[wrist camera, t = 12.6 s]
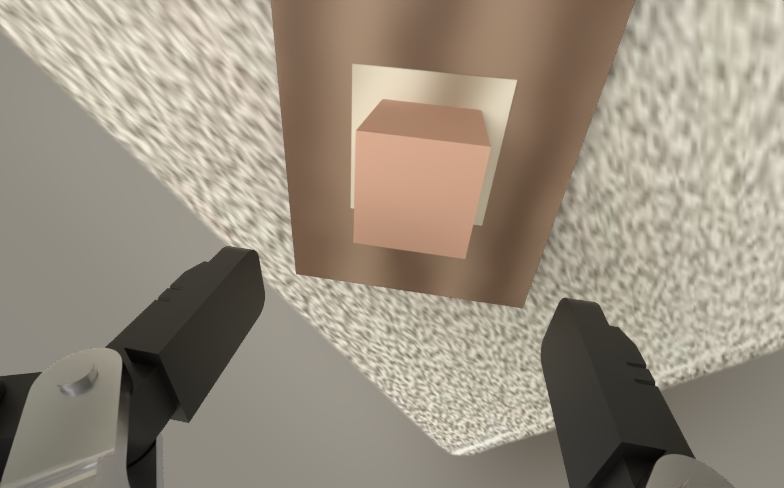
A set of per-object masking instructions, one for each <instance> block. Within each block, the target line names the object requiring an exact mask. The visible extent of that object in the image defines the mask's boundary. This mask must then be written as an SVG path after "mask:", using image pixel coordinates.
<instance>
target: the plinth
mask: <svg viewBox="0 0 784 488" xmlns="http://www.w3.org/2000/svg"><path fill="white" fill-rule="evenodd" d="M634 2H635V0H271V8H272V19H273V30H274V41H275V52H276V62H277V73H278V84H279V95H280V106H281V117H282V127H283V138H284V149H285V160H286V171H287V182H288V192H289V203H290V214H291V225H292V236H293V247H294V257H295V268H296V274H299V275H306V276H313V277H319V278H326V279H332V280H339V281H346V282H352V283H359V284H366V285H372V286H379V287H386V288H392V289H399V290H405V291H412V292H419V293H425V294H432V295H439V296H445V297H452V298H459V299H465V300H472V301H478V302H485V303H492V304H498V305H505V306H512V307H518V308H523V306H524V303H525V300H526V297H527V295H528V292H529V289H530V287H531V284H532V281H533V278H534V276H535V273H536V270H537V267H538V265H539V262H540V259H541V256H542V254H543V251H544V248H545V246H546V243H547V240H548V237H549V235H550V232H551V229H552V226H553V224H554V221H555V218H556V215H557V213H558V210H559V207H560V205H561V202H562V199H563V196H564V194H565V191H566V188H567V185H568V183H569V180H570V177H571V174H572V172H573V169H574V166H575V164H576V161H577V158H578V155H579V153H580V150H581V147H582V144H583V142H584V139H585V136H586V133H587V131H588V128H589V125H590V123H591V120H592V117H593V114H594V112H595V109H596V106H597V103H598V101H599V98H600V95H601V92H602V90H603V87H604V84H605V82H606V79H607V76H608V73H609V71H610V68H611V65H612V62H613V60H614V57H615V54H616V51H617V49H618V46H619V43H620V41H621V38H622V35H623V32H624V30H625V27H626V24H627V21H628V19H629V16H630V13H631V10H632V8H633V5H634ZM382 99H389V100H397V101H406V102H415V103H424V104H433V105H442V106H451V107H459V108H468V109H477V110H481V112H482V116H483V119H484V123H485V126H486V130H487V133H488V137H489V141H490V144H491V150H490V154H489V159H488V163H487V167H486V172H485V176H484V180H483V185H482V189H481V193H480V198H479V202H478V206H477V210H476V215H475V219H474V223H473V228H472V232H471V236H470V241H469V245H468V249H467V254H466V258H465V259H461V258H454V257H447V256H440V255H434V254H427V253H420V252H413V251H406V250H399V249H392V248H385V247H379V246H372V245H365V244H358V243H353V234H354V189H355V144H356V130H357V128H358V127H359V126H360V125H361V124H362V123H363V121H364V120H365V119H366V118H367V117H368V115H369V114H370V113H371V112H372V111H373V109H374V108H375V107H376V106H377V105H378V104H379V102H380V101H381V100H382Z"/></svg>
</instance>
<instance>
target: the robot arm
mask: <svg viewBox="0 0 784 488" xmlns="http://www.w3.org/2000/svg"><path fill="white" fill-rule="evenodd" d="M264 301H265V290H264V285H263V279H262V273H261V267H260V261H259V256H258V253H257V252H256V251H255V250H251V249H244V248H238V247H231V246H226V247H224V248H222V249H221V250H220V251H219V252H218V254H216V255H215V256H214V257H213V258H212V259H211V260H210V261H209V262H202V263H200V264H199V265H197V266H195V267H193V268H191V269H189V270H187V271H186V272H184V273H183V274H182V275H181V276H180V277H179V278H178V279H177V280H176V281H175V282H174V283H173V284H171V286H170V289H169V288H168V289H166V290H165V291H164V292H163V293H162V294H161V295H160V296H159V298H158V300H155V301H154V302H153V303H152V304H151V305H149V306H148V307H147V308H146V309H145V310H144V311H143V312H142V313H141V314H140V315H139V316H138V317H137V318H136V319H135V320H134V321H133V322H131V324H129V326H127V327H126V328H125V329H124V330H123V331H122V332H121V333H120V334H119V335H118V336H117V337H116V338H115V339H114V340H113V341H112V342H111V343H109V344H108V345H107V346H106V347H105V348H90V349H86V350H82V351H79V352H76V353H73V354H71V355H68V356H66V357H64V358H62V359H61V360H59V361H57V362H55V363H54V364H52V365H51V366H50V367H48V368H47V369H46V370H45V371H44V372H37V373H29V374H18V375H8V376H0V488H164V478H163V437H162V433H161V431H162V429H163V428H164V427H165V425H166V424H167V422H168V421H169V420H170V419H173V420H178V421H182V422H187V423H189V422H190V420H191V419H192V417H193V416H194V414H195V413H196V411H197V410H198V408H199V407H200V405H201V403H202V402H203V401H204V399H205V398H206V396H207V395H208V393H209V391H210V390H211V389H212V387H213V386H214V384H215V382H216V381H217V379H218V378H219V376H220V375H221V373H222V372H223V370H224V369H225V367H226V366H227V364H228V363H229V361H230V360H231V358H232V356H233V355H234V354H235V352H236V351H237V349H238V348H239V346H240V344H241V343H242V341H243V340H244V338H245V337H246V335H247V334H248V332H249V331H250V329H251V328H252V326H253V325H254V323H255V322H256V320H257V319H258V317H259V316H260V314H261V312H262V309H263V306H264ZM541 364H542V368H543V373H544V377H545V382H546V386H547V390H548V395H549V399H550V403H551V408H552V412H553V417H554V421H555V425H556V430H557V434H558V438H559V442H560V447H561V452H562V456H563V460H564V465H565V469H566V473H567V478H568V482H569V487H570V488H735V487H733V485H732V484H731V483H730V482H728V481H727V480H726V479H725V478H724V477H723V476H721V475H720V474H719V473H718V472H716V471H715V470H714V469H712V468H711V467H709V466H707V465H706V464H704V463H702V462H700V461H698V460H696V458H695V457H694V455H693V453H692V451H691V449H690V448H689V446H688V444H687V442H686V440H685V438H684V436H683V434H682V432H681V430H680V428H679V426H678V425H677V423H676V421H675V419H674V417H673V415H672V413H671V411H670V409H669V407H668V405H667V404H666V402H665V400H664V398H663V396H662V394H661V392H660V390H659V388H658V387H657V386H655V381H654V379H653V377H652V375H651V373H650V371H649V369H646V363H645V361H644V360H643V358H642V356H641V354H640V352H639V350H638V348H637V346H636V345H635V344H634V343H633V342H632V341H631V340H630V339H629V338H628V337H627V336H626V335H625V334H624V333H623V332H622V331H621V330H620V328H619V327H614V326H609V324H608V322H607V320H606V318H605V316H604V314H603V311H602V309H601V307H600V306H599V304H597V303H595V302H589V301H582V300H576V299H569V298H563V299H562V300H561V301H560V302H559V304H558V306H557V309H556V311H555V313H554V315H553V318H552V320H551V322H550V325H549V327H548V329H547V332H546V334H545V336H544V339H543V342H542V346H541Z"/></svg>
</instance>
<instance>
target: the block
mask: <svg viewBox="0 0 784 488" xmlns="http://www.w3.org/2000/svg"><path fill="white" fill-rule="evenodd" d="M490 150H491V144H490V141H489V137H488V133H487V130H486V126H485V123H484V119H483V116H482V112H481V110H477V109H468V108H459V107H451V106H442V105H433V104H424V103H415V102H406V101H397V100H389V99H382V100H381V101H380V102H379V104H378V105H377V106H376V107H375V108H374V109H373V111H372V112H371V113H370V114H369V115H368V117H367V118H366V119H365V120H364V121H363V123H362V124H361V125H360V126H359V127H358V128H357V130H356V144H355V189H354V234H353V243H358V244H365V245H372V246H379V247H385V248H392V249H399V250H406V251H413V252H420V253H427V254H434V255H440V256H447V257H454V258H461V259H465V258H466V254H467V249H468V245H469V241H470V236H471V232H472V228H473V223H474V219H475V215H476V210H477V206H478V202H479V198H480V193H481V189H482V185H483V180H484V176H485V172H486V167H487V163H488V159H489V154H490Z"/></svg>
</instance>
